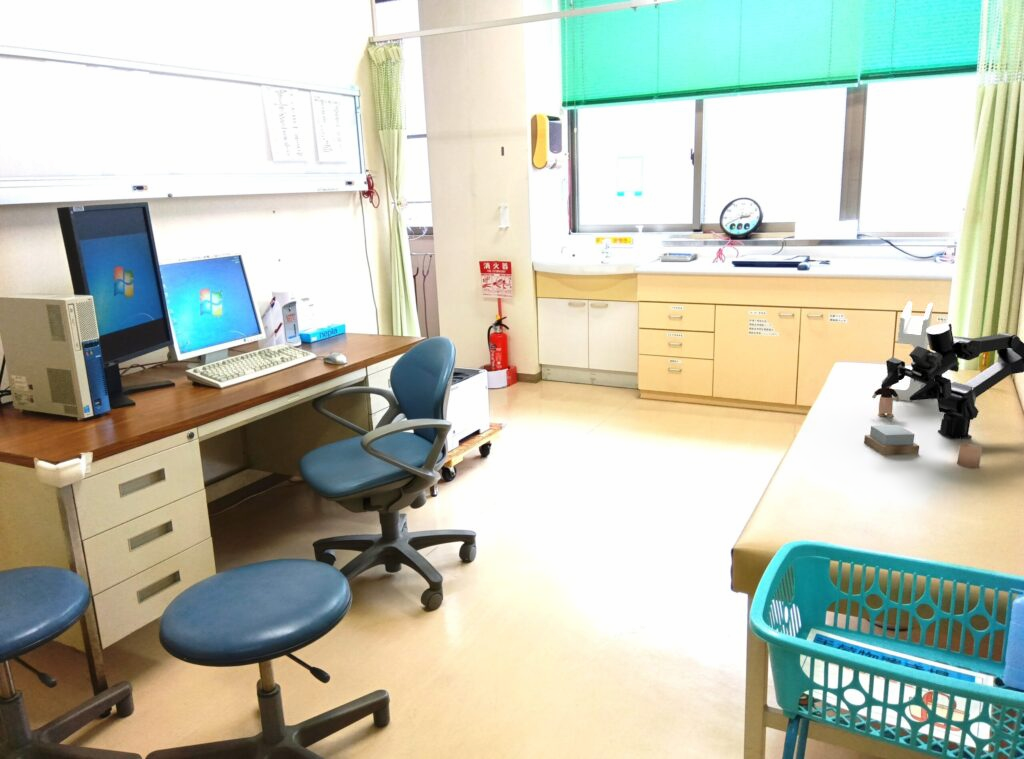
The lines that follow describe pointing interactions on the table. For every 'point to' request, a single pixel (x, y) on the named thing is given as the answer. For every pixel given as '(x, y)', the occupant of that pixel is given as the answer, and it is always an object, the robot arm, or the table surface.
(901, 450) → the walnut base slab
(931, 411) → the table surface
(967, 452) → the peach domed cylinder
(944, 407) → the robot arm
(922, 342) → the white forked cradle stand
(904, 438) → the grey top slab
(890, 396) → the grandmother figurine
